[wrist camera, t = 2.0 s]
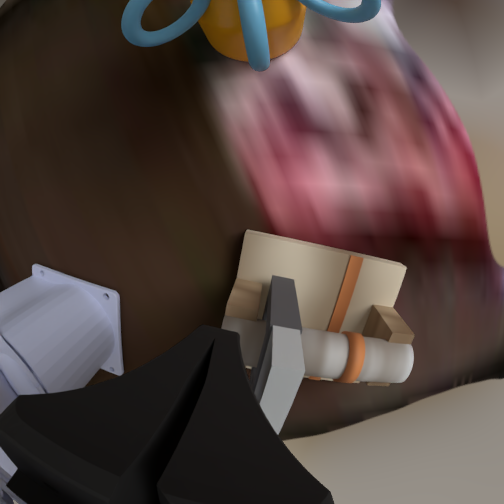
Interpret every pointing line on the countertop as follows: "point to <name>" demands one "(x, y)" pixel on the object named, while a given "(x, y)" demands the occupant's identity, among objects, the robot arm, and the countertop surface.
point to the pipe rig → (325, 309)
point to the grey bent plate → (279, 353)
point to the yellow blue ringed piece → (243, 25)
